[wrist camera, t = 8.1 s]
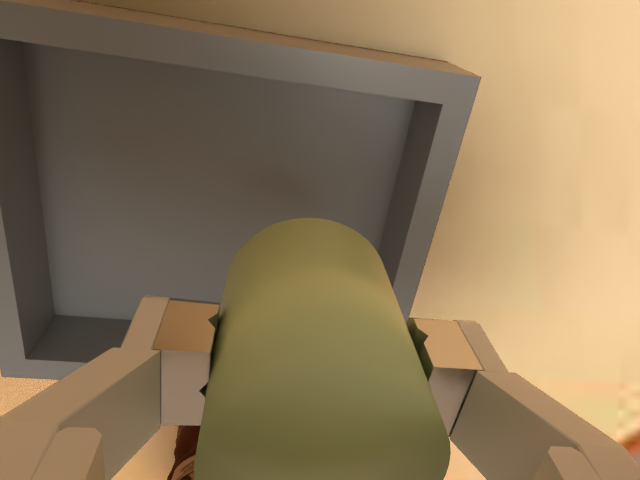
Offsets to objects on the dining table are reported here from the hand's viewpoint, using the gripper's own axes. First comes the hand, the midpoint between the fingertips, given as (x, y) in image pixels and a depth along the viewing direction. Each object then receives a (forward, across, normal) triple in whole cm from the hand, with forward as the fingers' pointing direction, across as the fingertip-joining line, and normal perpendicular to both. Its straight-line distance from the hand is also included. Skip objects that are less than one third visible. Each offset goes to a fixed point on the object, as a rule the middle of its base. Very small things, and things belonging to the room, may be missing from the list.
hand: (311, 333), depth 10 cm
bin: (+11, +3, +2) cm, 11 cm away
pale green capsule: (+2, 0, 0) cm, 2 cm away
